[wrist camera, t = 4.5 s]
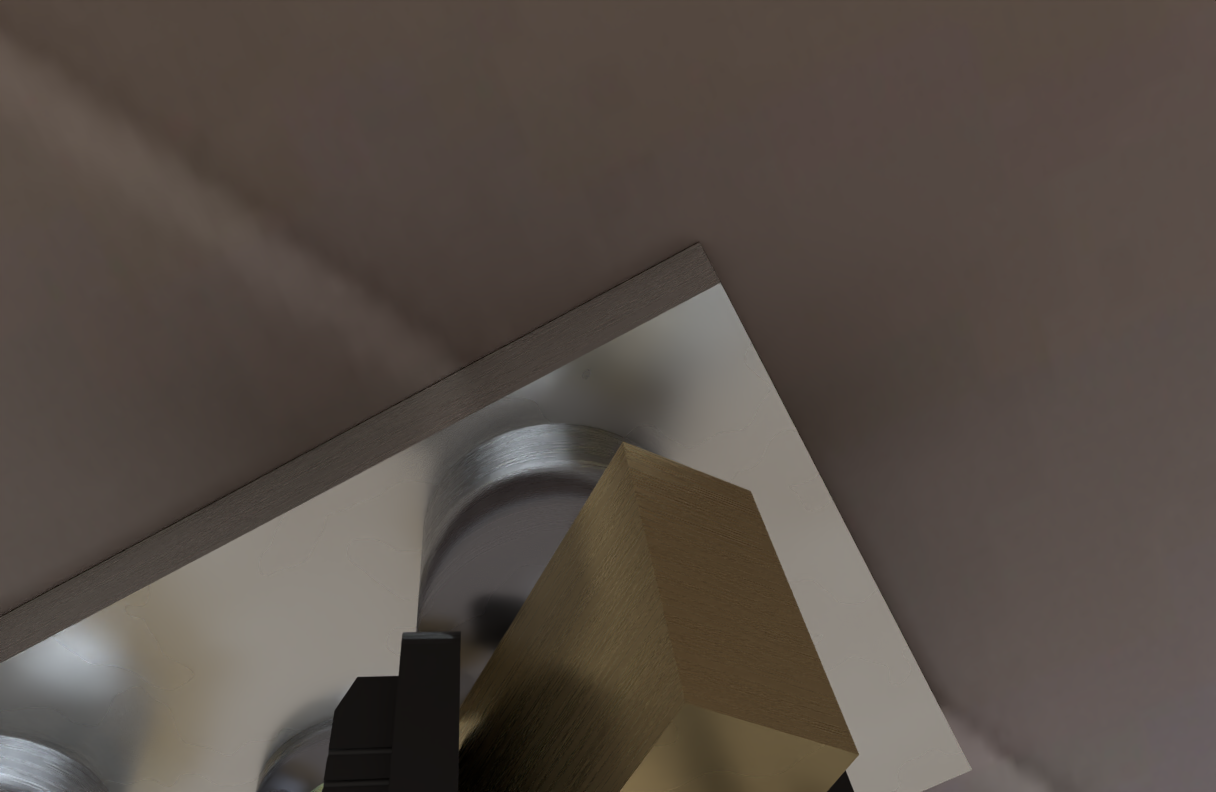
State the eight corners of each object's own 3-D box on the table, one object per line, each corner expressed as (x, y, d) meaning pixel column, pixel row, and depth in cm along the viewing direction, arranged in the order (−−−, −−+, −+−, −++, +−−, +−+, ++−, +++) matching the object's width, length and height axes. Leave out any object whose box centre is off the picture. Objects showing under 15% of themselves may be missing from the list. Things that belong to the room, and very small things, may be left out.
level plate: (699, 242, 15) (732, 305, 13) (941, 710, 21) (988, 799, 19) (-302, 779, 18) (-394, 893, 16) (160, 1055, 24) (133, 1162, 22)
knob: (527, 313, 13) (569, 686, 8) (771, 416, 15) (964, 801, 9) (354, 642, 16) (287, 1107, 10) (575, 704, 17) (627, 1148, 12)
